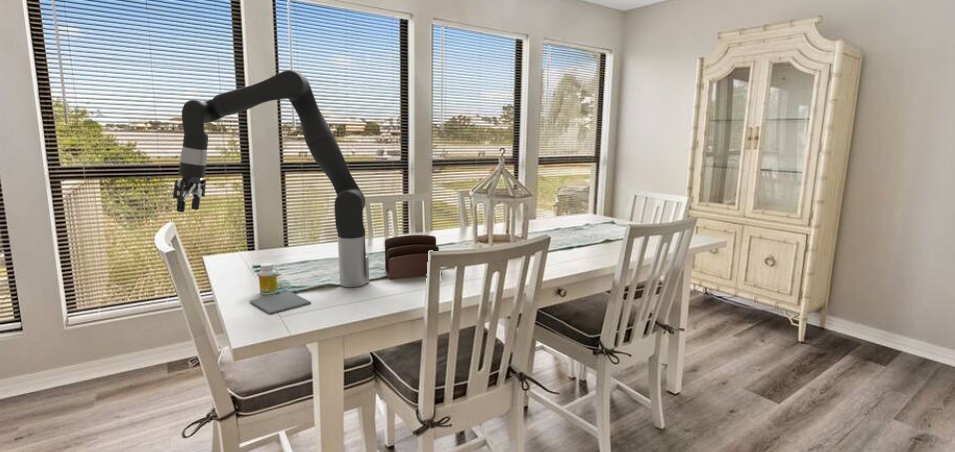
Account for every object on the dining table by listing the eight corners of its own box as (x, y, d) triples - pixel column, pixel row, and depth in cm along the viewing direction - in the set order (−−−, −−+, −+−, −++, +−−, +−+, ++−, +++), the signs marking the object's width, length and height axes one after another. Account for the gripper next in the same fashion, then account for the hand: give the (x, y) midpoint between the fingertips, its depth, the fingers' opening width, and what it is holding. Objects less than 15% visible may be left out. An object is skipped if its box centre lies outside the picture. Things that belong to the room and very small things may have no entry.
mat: (289, 293, 166) (289, 291, 166) (310, 303, 157) (310, 301, 156) (249, 302, 157) (249, 300, 157) (270, 314, 147) (269, 312, 147)
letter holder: (385, 272, 191) (384, 236, 189) (436, 268, 197) (435, 233, 195) (388, 279, 182) (388, 242, 179) (442, 275, 188) (442, 238, 185)
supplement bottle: (271, 295, 163) (269, 266, 162) (256, 294, 164) (254, 265, 163) (281, 290, 169) (279, 262, 167) (266, 289, 170) (264, 261, 168)
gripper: (192, 164, 158) (186, 214, 160) (215, 164, 172) (210, 210, 174) (168, 160, 158) (163, 210, 160) (194, 160, 172) (188, 206, 174)
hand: (187, 210), depth 167 cm, fingers open, 8 cm apart
